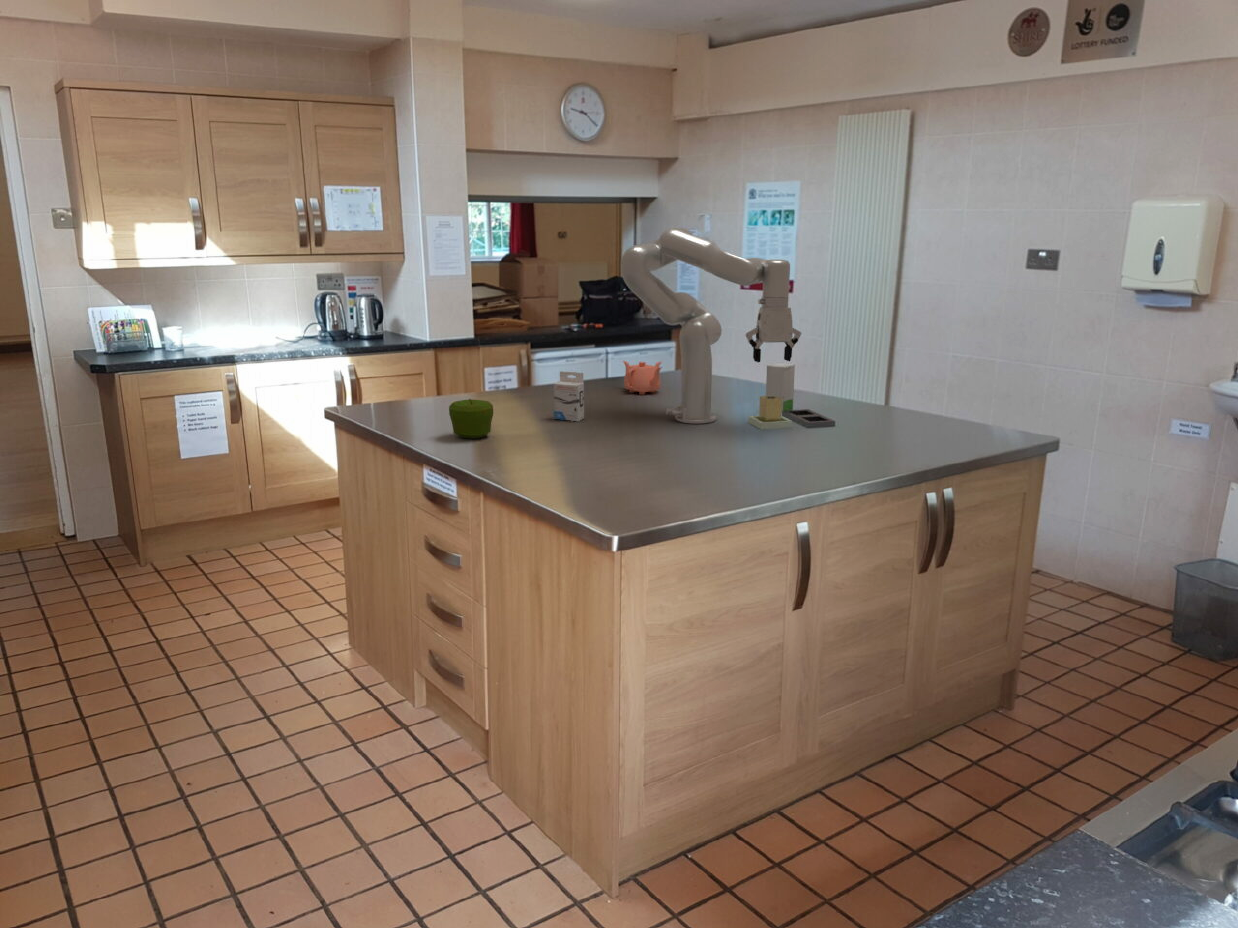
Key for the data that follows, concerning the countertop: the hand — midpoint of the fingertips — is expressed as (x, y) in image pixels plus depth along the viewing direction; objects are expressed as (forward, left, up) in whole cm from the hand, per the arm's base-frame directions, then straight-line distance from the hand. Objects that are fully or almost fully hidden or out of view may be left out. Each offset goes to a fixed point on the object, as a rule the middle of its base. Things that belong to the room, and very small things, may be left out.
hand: (772, 361), depth 275 cm
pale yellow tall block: (0, 0, -20) cm, 20 cm away
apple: (-88, +11, -20) cm, 91 cm away
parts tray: (0, 0, -20) cm, 20 cm away
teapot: (-20, +64, -20) cm, 70 cm away
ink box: (-56, +26, -20) cm, 65 cm away
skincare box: (+12, +19, -20) cm, 30 cm away
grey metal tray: (+14, +2, -20) cm, 24 cm away
